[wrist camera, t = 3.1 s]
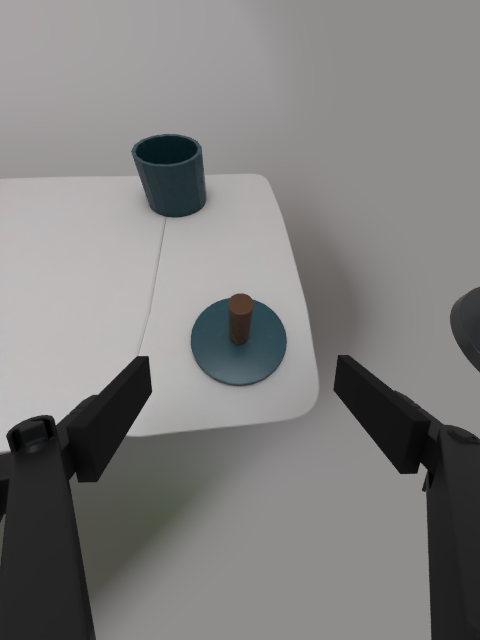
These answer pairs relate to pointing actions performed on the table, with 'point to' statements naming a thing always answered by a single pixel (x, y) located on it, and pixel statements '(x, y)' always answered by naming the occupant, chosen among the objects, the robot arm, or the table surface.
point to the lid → (238, 340)
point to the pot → (171, 174)
